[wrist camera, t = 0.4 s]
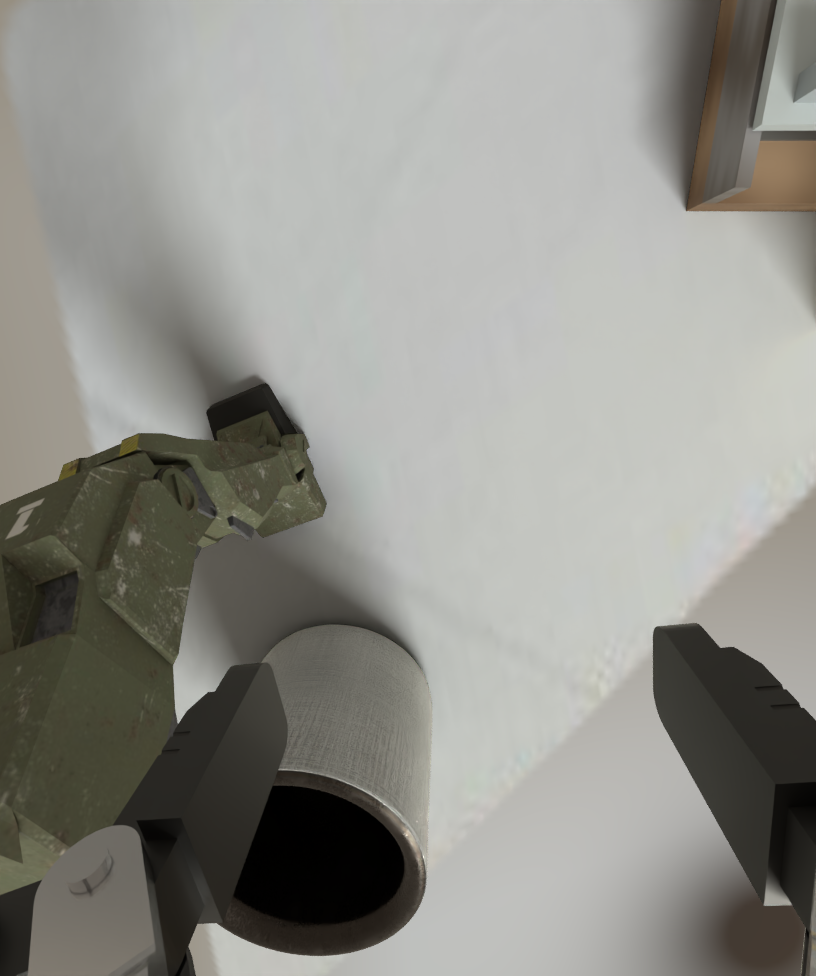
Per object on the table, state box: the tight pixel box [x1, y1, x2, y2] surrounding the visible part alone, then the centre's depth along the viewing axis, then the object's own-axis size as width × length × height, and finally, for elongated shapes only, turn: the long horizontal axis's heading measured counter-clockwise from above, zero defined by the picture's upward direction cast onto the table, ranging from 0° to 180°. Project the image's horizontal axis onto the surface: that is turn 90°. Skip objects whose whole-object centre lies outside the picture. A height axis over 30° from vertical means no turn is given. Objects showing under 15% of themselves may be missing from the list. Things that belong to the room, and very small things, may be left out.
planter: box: [217, 625, 432, 956], centre depth 37 cm, size 16×16×16 cm
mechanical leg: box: [0, 383, 327, 895], centre depth 26 cm, size 14×7×30 cm, turn 22°
